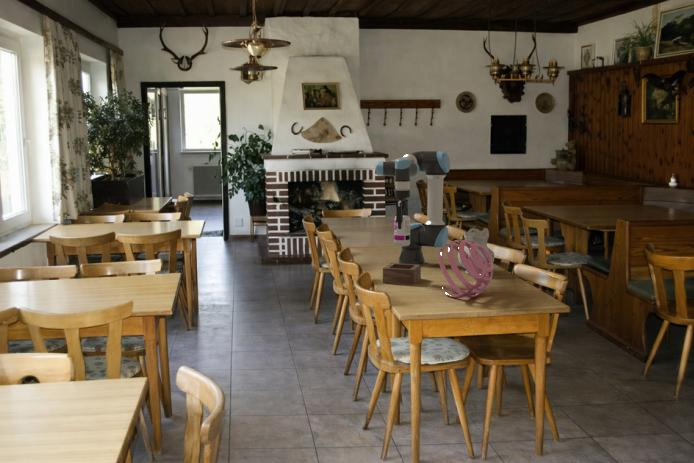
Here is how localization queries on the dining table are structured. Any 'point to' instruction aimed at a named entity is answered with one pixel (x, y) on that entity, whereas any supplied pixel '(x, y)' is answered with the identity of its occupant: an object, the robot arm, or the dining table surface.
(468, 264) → the spiral basket
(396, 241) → the supplement can
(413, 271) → the dark wooden box
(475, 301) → the dining table surface
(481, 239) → the grey rounded figure
